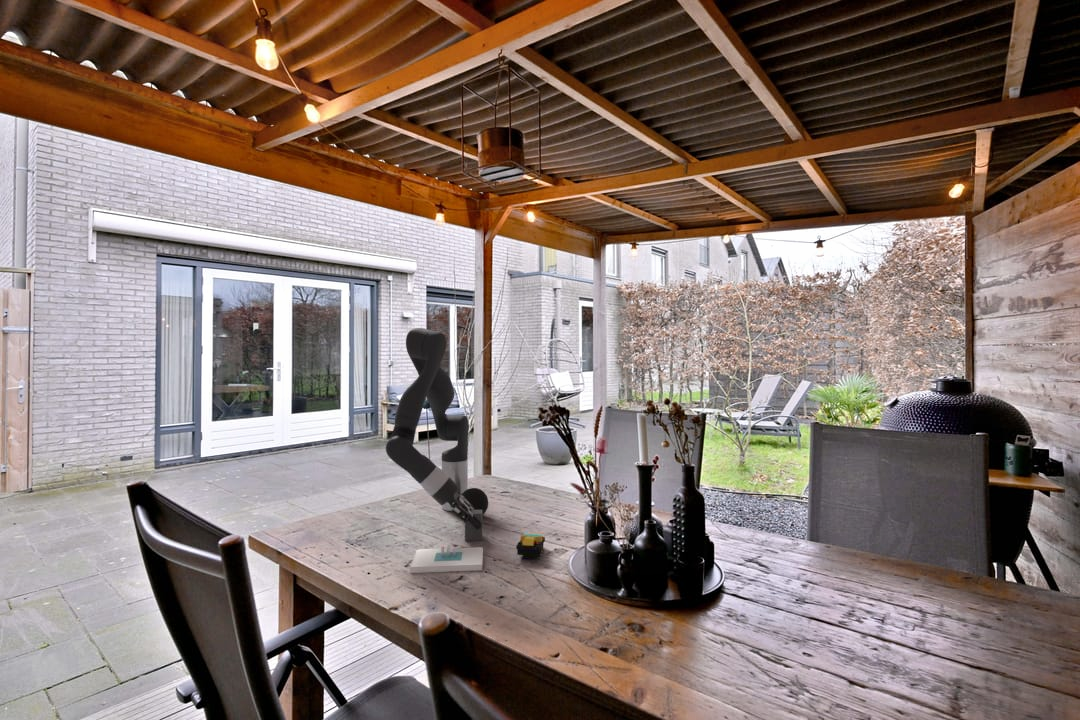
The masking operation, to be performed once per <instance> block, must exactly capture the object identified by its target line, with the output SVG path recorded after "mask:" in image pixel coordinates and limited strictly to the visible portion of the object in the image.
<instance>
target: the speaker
mask: <svg viewBox="0 0 1080 720" xmlns="http://www.w3.org/2000/svg"><path fill="white" fill-rule="evenodd" d="M462 494H463V496H464V497H465V498H466V499H467V500H468V502H469V503H470V504H471V505H472V506H473V508H474V510H482V516H483V515H485V514H486V512H487V510H488V507H489V498H488V496H487V494H486V493H485V491H483V490H482V489H480V488H478V487H470V488H468V489H467V490H466V491H464V492H463V493H462Z"/></svg>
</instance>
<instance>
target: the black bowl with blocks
mask: <svg viewBox="0 0 1080 720" xmlns="http://www.w3.org/2000/svg"><path fill="white" fill-rule="evenodd" d="M545 542H546V537H545V536H543V535H542V534H537V533H536V532H531V533H522V534H521V536H520V540H519V541H518V542H517V544H516V547H515V548H516V550H517V551H516V554H517V556H522V557H523V558H525V559H531V560H532V559H536V558H537V557H540V556H541V555H542V554H543V551H544V543H545Z"/></svg>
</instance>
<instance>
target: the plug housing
mask: <svg viewBox="0 0 1080 720" xmlns="http://www.w3.org/2000/svg"><path fill="white" fill-rule="evenodd" d="M469 511H470V512H471V513H472V514H473V515H474V516H475V517H476V518H477V519H478V520H479V521H480V522H481V523H482V524H483V521H482V519H483V515H482V510H469ZM465 516H467V515H466V514H465ZM464 541H465V542H470V541H471V542H472V541H473V542H475V541H477V542H478V541H483V525H482V526H481V527H480V528H479V529H478V530H477V529H476V528H475V527H474V526H472V525H471V524H470V523H469V522H464Z"/></svg>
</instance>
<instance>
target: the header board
mask: <svg viewBox="0 0 1080 720" xmlns="http://www.w3.org/2000/svg"><path fill="white" fill-rule="evenodd" d="M483 559H484V547H483V546H482V547H481V546H480V547H456V546H452V547H450V546H447V547H446V548H445V547H444V546H441V548H425V549H424V548H423V549H422V548H421V549H417V550H416V552H415V555H414V557H413V559H412V562H411V565H410V568H409V569H410V572H409V573H410V574H419V573H420V574H421V573H445V572H446V573H447V572H448V573H449V572H471V571H483V561H484V560H483Z"/></svg>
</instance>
